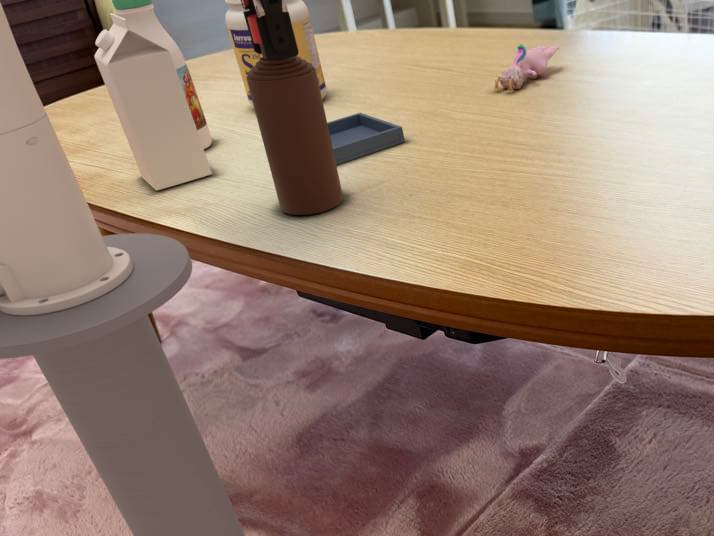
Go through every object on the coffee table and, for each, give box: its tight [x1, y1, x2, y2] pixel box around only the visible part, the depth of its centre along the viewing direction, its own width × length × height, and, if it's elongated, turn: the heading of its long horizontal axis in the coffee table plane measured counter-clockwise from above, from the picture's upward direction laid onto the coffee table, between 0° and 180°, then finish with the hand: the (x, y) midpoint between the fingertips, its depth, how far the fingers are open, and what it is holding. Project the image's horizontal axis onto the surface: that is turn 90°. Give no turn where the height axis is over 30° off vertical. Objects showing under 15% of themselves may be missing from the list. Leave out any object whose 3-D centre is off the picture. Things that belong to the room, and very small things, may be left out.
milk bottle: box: [111, 0, 213, 150], centre depth 107 cm, size 8×8×20 cm
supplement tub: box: [224, 0, 327, 109], centre depth 123 cm, size 12×12×17 cm
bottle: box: [246, 44, 344, 216], centre depth 85 cm, size 7×7×18 cm
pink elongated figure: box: [494, 43, 560, 94], centre depth 123 cm, size 6×6×15 cm
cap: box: [247, 14, 292, 44], centre depth 81 cm, size 4×4×2 cm
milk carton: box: [94, 12, 213, 191], centre depth 98 cm, size 7×7×19 cm
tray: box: [327, 112, 406, 166], centre depth 106 cm, size 13×11×2 cm
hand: (276, 52), depth 82 cm, fingers closed on cap, 4 cm apart
